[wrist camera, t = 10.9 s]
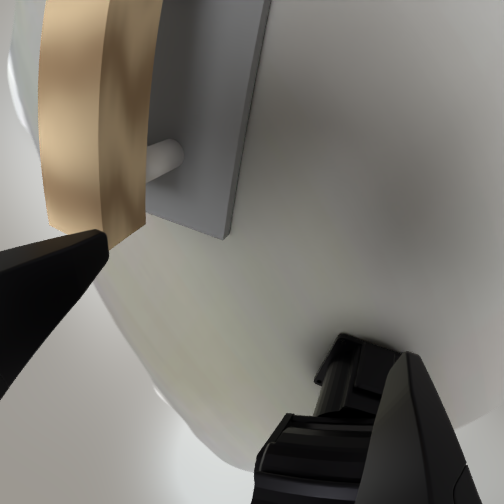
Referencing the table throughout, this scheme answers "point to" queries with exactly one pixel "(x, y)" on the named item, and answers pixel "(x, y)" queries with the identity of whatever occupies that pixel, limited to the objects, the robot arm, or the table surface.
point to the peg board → (201, 109)
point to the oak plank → (96, 112)
